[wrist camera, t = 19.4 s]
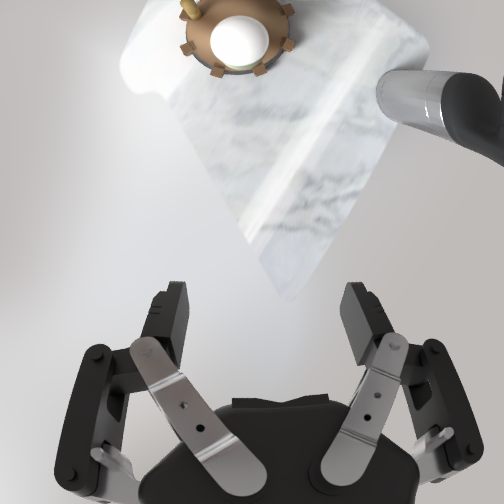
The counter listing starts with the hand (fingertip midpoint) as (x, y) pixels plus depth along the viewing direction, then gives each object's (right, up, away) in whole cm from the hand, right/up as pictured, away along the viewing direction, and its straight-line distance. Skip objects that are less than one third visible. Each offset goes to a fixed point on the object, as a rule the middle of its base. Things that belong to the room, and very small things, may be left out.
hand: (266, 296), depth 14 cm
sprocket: (-3, +34, +17) cm, 38 cm away
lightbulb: (-2, +29, +17) cm, 34 cm away
